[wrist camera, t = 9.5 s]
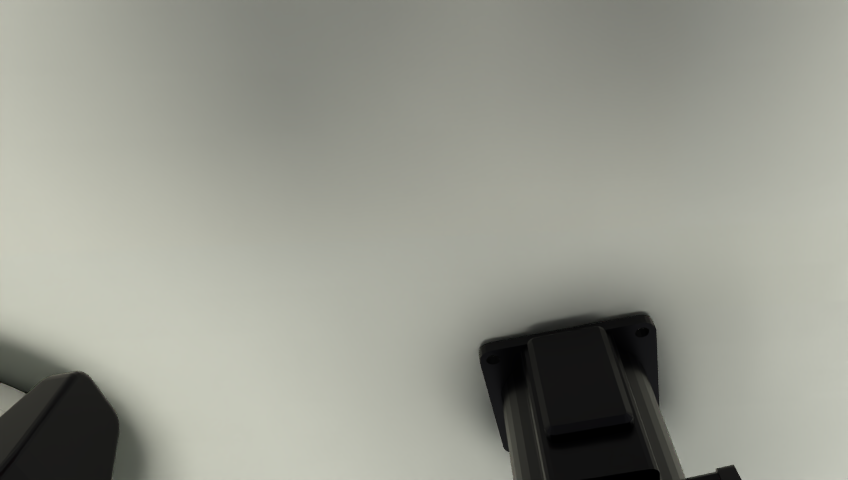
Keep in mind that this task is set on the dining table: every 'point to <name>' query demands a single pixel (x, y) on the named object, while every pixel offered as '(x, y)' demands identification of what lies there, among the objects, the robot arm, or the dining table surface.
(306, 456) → the dining table surface
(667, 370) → the dining table surface
